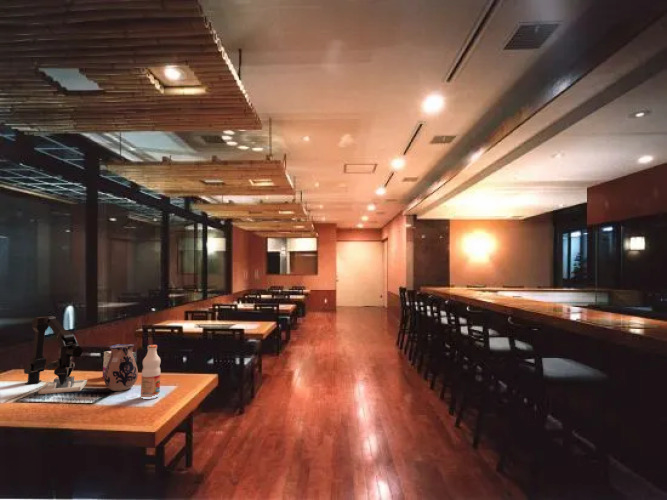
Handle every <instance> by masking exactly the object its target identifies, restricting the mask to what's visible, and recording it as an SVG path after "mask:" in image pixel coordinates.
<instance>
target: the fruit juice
mask: <svg viewBox="0 0 667 500" xmlns="http://www.w3.org/2000/svg"><path fill="white" fill-rule="evenodd" d="M146 347H147V353H146V354H145V357H144V358H143V359H142V370H141V379H140V380H141V382H140V384H141V385H140V398H141V397H152V396H155V395H158V394H159V393H160V391H161V390H160V389H161V367H160V365H161V362H162V360H161V357H160V356H159V355H158V352H157V350H158V345H157V344H149V345H147V346H146ZM159 395H160V394H159Z"/></svg>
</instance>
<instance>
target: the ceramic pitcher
mask: <svg viewBox="0 0 667 500" xmlns="http://www.w3.org/2000/svg"><path fill="white" fill-rule="evenodd" d="M134 346H135V344H131V343H130V344H129V343H125V344H122V343H118V344H114V345H110V346H109V349H110V351H111V356H110V359H109V362H108V364H107V367H106V370H105V374H104V378H103V381H104V382H103V383H105V386H106V387H107V388H108V389H109V390H111V391H114V392H115V391H116V392H118V391H120V392H121V391H126V390H129V389H131V388H132V387H133V386H134V385H135V384H136V382H137V380H138V377H139V371H138V369H139V368H138V365H137V363H136V359H135V357H134V352H133V348H134Z"/></svg>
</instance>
